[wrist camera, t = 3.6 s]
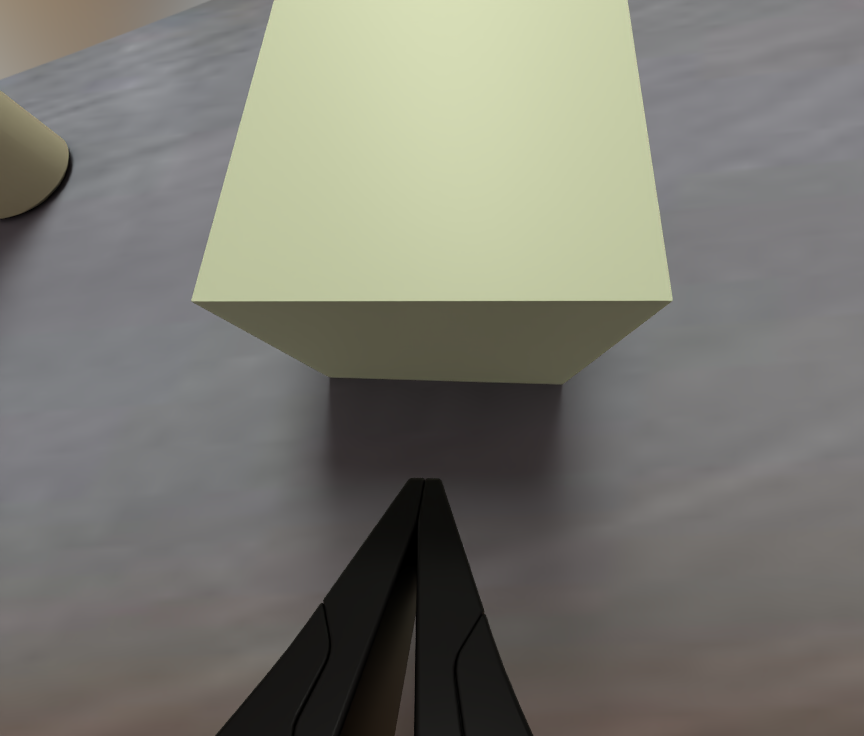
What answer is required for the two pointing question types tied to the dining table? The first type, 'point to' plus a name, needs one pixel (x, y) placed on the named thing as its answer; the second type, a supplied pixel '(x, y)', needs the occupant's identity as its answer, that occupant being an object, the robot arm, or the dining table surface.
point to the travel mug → (27, 159)
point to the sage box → (441, 191)
